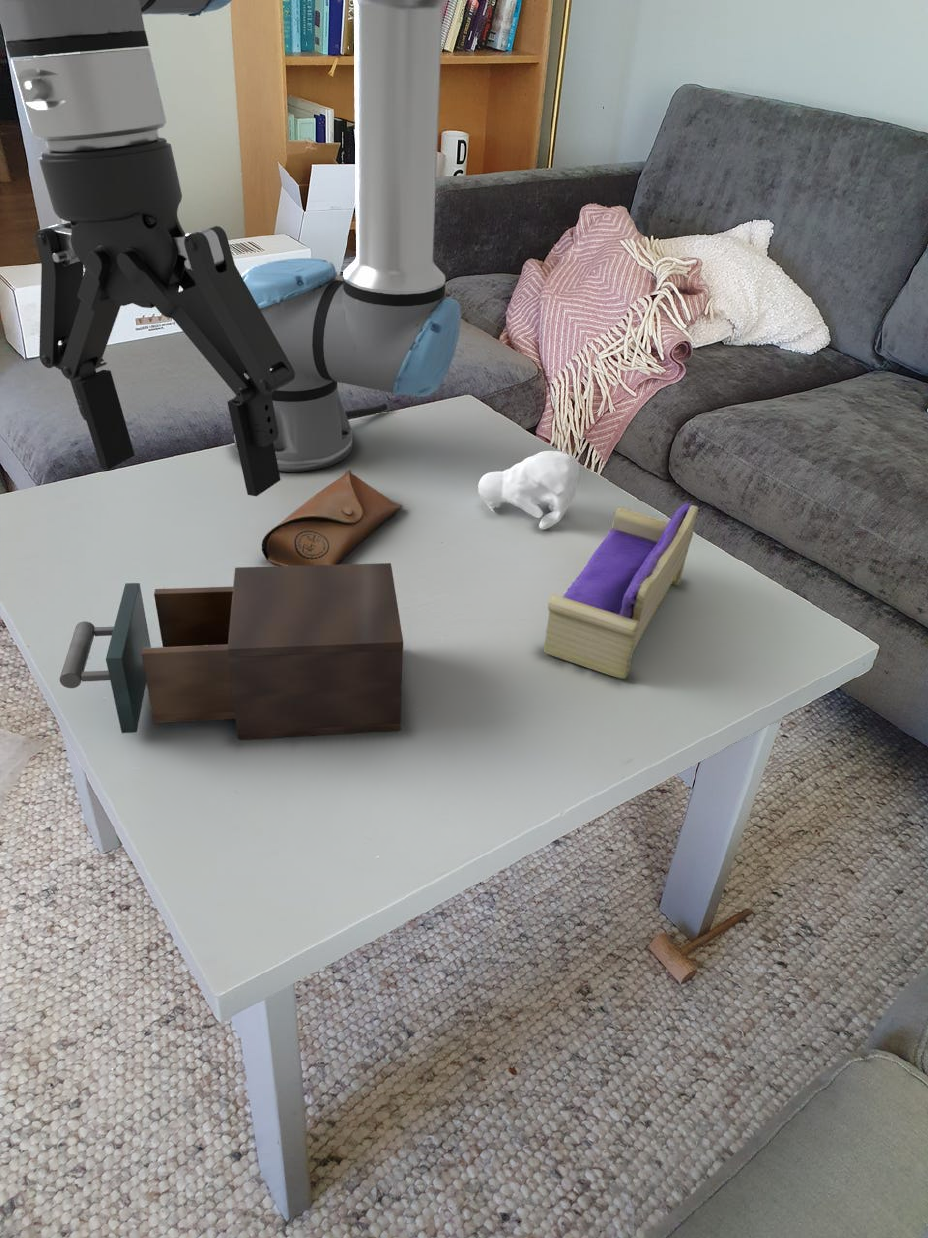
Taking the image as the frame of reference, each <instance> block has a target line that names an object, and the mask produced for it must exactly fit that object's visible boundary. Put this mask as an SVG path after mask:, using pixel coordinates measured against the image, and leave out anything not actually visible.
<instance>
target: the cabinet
mask: <svg viewBox="0 0 928 1238" xmlns="http://www.w3.org/2000/svg"><path fill="white" fill-rule="evenodd" d="M395 586H396V585H395V580H394V574H393V568H392V563H391V562H385V563H379V562H378V563H354V564H353V563H350V564H349V563H348V564H338V565H308V566H278V565H275V566H243V567H239V566H238V567H234V574H233V585H232V587H233V595H232V606H231V617H230V628H229V639H228V657H229V666H230V675H231V684H232V693H233V702H234V710H235V729H236V736H237V737H236V738H237V740H256V739H271V738H274V739H275V738H289V737H290V738H292V737H307V736H310V737H311V736H327V735H342V734H343V735H344V734H359V733H362V734H363V733H380V732H381V733H382V732H397V731H401V729H402V704H403V703H402V700H403V699H402V698H403V671H404V670H403V667H404V663H403V662H404V638H403V631H402V624H401V619H400V612H399V605H398V599H397V593H396V587H395Z"/></svg>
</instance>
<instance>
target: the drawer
mask: <svg viewBox="0 0 928 1238" xmlns="http://www.w3.org/2000/svg"><path fill="white" fill-rule="evenodd" d="M232 595H233V586H208V587H207V586H206V587H205V586H203V587H178V588H177V587H175V588H174V587H173V588H172V587H171V588H155V589H154V592H153V597H154V602H155V608H156V615H157V620H158V627H159V632H160V638H161V644H162V645H161V646H158V647H157V646H156V647H155V646H154V647H152V646H151V640H150V639H151V638H150V634H149V628H148V623H147V615H146V611H145V605H144V601H143V600H144V599H143V593H142V588H141V583H140V582H127V583H124V587H123V590H122V595H121V598H120V603H119V605H118V606H119V607H118V611H117V613H116V618H115V622H114V625H113V626H95V625H94V624H93V623H91V622H89V621H80V622H77V624H76V626H75V628H74V631H73V634H72V637H71V641H70V643H69V648H68V651H67V652H66V657H65V660H64V663H63V666H62V669H61V672H60V675H59V679H58V680H59V683H60V685H61V686H63V687H64V688H67V689H75V688H76V689H77V688H78V687H79V686H80V685H81V683H82V682H101V681H102V682H104V681H109V682H110V685H111V691H112V694H113V699H114V704H115V708H116V713H117V718H118V723H119V727H120V732H121V734H131V733H132V734H133V733H134V734H135V733H137V732H138V727H139V723H140V717H141V712H142V708H143V702H144V697H145V692H146V687H147V692H148V698H149V701H150V702H149V703H150V709H151V713H152V719H153V720H152V721H153V723H154V724H159V723H160V724H161V723H177V722H178V723H179V722H182V723H183V722H195V721H196V722H197V721H198V722H199V721H215V720H217V721H218V720H219V721H220V720H234V719H235V710H234V702H233V693H232V684H231V675H230V666H229V657H228V639H229V628H230V617H231V606H232ZM105 636H106V637H108V636H111V637H110V641H109V645H108V648H107V652H106V657H105V662H106V667H107V670H89V671H87V670H86V671H85V669H86V666H87V662H88V659H89V656H90V652H91V648H92V645H93V641H94V638H95V637H105ZM235 720H236V719H235Z"/></svg>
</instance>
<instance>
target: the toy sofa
mask: <svg viewBox="0 0 928 1238" xmlns="http://www.w3.org/2000/svg"><path fill="white" fill-rule="evenodd" d="M698 511H699V507H698V506H697V505H694V504H693V505H692V504H690V503H684V504H683V505H681V506H680V507H679V508H678V509H677V510H676V512H675V513H674V514H673V515H672V517H671V518H670V520H669V521H667V520H664V519H663V520H662V519H660V518H656V517H653V516H650V515H646V514H643V513H640V512H637V511H634V510H630V509H627V508H623V507H618V508H616V510H615V513H614V517H613V522H612V527H611V528H610V530H609V532H608V534H607V535H606V537H605V538H604V540H602V542H601V543H600V545H599V546H598V547H597V548H596V549H595V551H594V552H593V554H591V557H590V558H589V559H588V562H587V563H586V565H585V566H584V568H583V570H582V571H580V573H579V575H577V577H576V579H575V580H574V581H573V582H572V583H571V585H570V586H569V588H567V590H566V592H565V593H564V595H563V596H561V595H557V594H552V595H551V596H550V598H549V599H548V604H547V610H548V611H549V612H548V620H547V624H546V625H547V626H546V631H545V632H546V633H545V639H544V647H543V648H544V649H543V652H544V653H545V654H546V655H549V656H552V657H555V658H557V659H559V660H560V659H561V660H564V661H567V662H569V663H573V664H576V665H579V666H582V667H585V668H587V669H590V670H593V671H596V672H598V673H599V672H600V673H602V674H606V675H607V676H612V677H615V678H617V679H620V680H624V679H627V677H628V675H629V673H630V672H629V671H630V667H631V663H632V662H631V661H632V656H633V653H634V651H635V649H636V647H637V645H638V643H639V642H640V640H641V638H642V636H643V634H644V632H645V630H646V629H647V627H648V625H649V623H650V622H651V620H652V618H653V617H654V615H655V614H656V611H657V610H658V607H659V606H660V604H661V603H662V601H663V599H664V598H665V596H666V594H667V592H668V590H669V589H670V587H671V585H672V586H678V585H679V584H680V582H681V577H682V574H683V571H684V567H685V562H686V558H687V555H688V551H689V548H690V544H691V541H692V539H693V536H694V525H695V522H696V520H697V516H698Z"/></svg>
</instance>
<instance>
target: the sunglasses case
mask: <svg viewBox="0 0 928 1238" xmlns="http://www.w3.org/2000/svg"><path fill="white" fill-rule="evenodd" d="M402 508H403V505H402V504H398V503H396V502H393V501H392V500H391V499H389V498H388V497H387V496H385V495H383V494H382V493H380V492H379V491H378V490H377V489H375V488H374V487H373V486H370V485H369V484H368V483H366V482H365V481H364V480H362V479H361V478H359V477H358V476H357V475H355V474H353V473H352V469H348V470H347V471H346V472H345V473H344V474H343V475H342V476H340V477H339V478H337V479H335V481H333V482H332V483H330V484H329V485H327V486H326V487H324V488H323V489H321V491H319V492H318V493H316V494H315V495H313V496H312V497H311V498H309V499H308V500H307V501H305V502H304V503H303V504H302V505H300V506H299V507H298V508H297V509H296V510H294V511H293V512H292V513H291V514H289V515H288V516H287V517H286V518H284V519H283V520H282V521H281V522H280V523H278V524H277V525H276V526H274V527H273V528H271V529H270V530H269V531H268V532H267V533H266V534H265V535H264V537H263V539H262V541H261V552H262V554H263V556H264V558H265V559H266V561H267V562H268V563H270V564H273V565H275V566H308V565H340V563H341V562H342V561H343V560H344V559H345V558H346V557H347V556H348V555H349V554H350V553H351V552H353V551H354V550H355V548H357V547H358V546H359V545H360V544H361V543H362V542H363V541H364V540H366V539H367V538H368V537H370V536H371V534H373V533H375V531H376V530H378V529H379V528H380V527H381V526H382V525H383V524H385V523H386V522H387V521H388V520H390V519H391V518H392V517H394V515H396V514H397V513H398V512H399V511H400V510H401V509H402Z"/></svg>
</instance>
